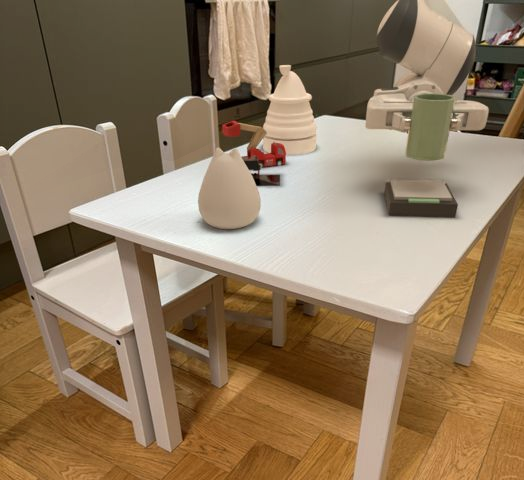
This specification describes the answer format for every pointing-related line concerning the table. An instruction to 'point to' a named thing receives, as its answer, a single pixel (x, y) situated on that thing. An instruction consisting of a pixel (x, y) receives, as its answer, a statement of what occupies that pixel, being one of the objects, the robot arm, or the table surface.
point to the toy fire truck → (265, 160)
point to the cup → (429, 126)
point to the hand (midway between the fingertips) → (430, 125)
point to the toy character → (228, 192)
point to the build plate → (259, 179)
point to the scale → (419, 198)
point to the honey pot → (290, 116)
